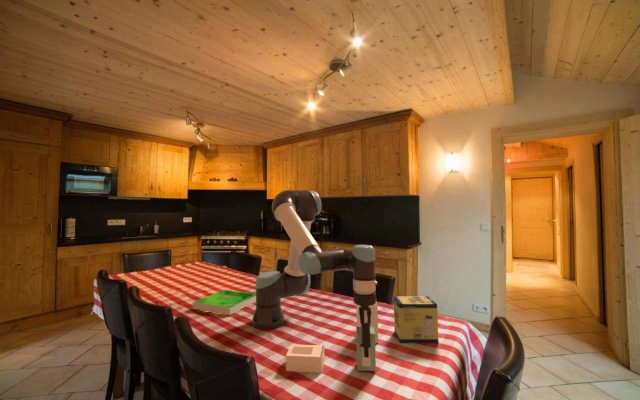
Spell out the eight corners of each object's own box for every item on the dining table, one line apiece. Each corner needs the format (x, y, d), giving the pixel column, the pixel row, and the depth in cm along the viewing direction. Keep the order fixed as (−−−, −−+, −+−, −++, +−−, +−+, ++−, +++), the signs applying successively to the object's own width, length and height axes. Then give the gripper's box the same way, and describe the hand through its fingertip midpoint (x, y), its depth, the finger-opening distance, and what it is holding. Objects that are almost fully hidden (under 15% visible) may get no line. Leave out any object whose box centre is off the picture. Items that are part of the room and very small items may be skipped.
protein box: (393, 332, 122) (392, 295, 123) (429, 332, 122) (428, 295, 122) (399, 343, 112) (398, 303, 112) (439, 343, 111) (438, 303, 112)
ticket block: (286, 370, 94) (286, 354, 94) (291, 358, 101) (291, 343, 102) (322, 372, 92) (321, 356, 92) (324, 359, 100) (324, 345, 100)
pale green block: (357, 370, 92) (356, 332, 93) (357, 362, 97) (356, 326, 98) (375, 371, 92) (374, 333, 92) (374, 362, 97) (373, 326, 97)
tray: (192, 311, 153) (192, 302, 153) (224, 298, 176) (224, 289, 176) (230, 317, 143) (230, 307, 144) (258, 302, 167) (258, 293, 167)
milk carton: (356, 336, 118) (356, 290, 119) (373, 335, 119) (372, 290, 120) (360, 344, 111) (359, 295, 112) (378, 343, 112) (377, 295, 113)
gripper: (378, 299, 86) (380, 377, 85) (373, 284, 104) (375, 348, 103) (353, 299, 87) (355, 376, 86) (353, 284, 105) (354, 347, 104)
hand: (366, 361), depth 94 cm, fingers closed on pale green block, 5 cm apart
